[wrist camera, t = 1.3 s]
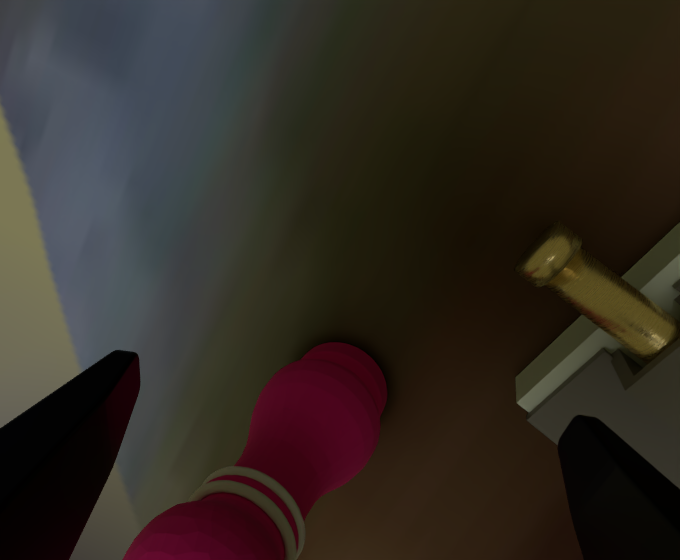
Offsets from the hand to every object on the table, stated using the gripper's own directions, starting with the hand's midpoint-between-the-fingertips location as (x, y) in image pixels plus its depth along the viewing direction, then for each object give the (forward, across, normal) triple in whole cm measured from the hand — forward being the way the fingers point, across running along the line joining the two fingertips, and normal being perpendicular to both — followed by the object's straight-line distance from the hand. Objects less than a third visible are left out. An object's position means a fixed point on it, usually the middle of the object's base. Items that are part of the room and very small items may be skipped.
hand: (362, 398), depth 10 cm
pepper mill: (+16, -2, +16) cm, 22 cm away
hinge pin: (+10, -15, +4) cm, 19 cm away
